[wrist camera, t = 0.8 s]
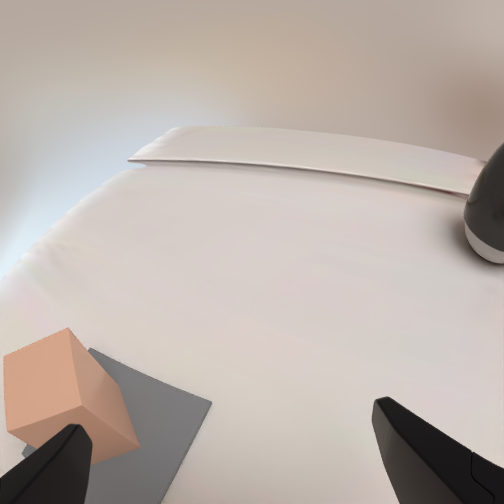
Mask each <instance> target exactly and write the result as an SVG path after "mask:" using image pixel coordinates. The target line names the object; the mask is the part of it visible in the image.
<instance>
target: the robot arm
mask: <svg viewBox="0 0 504 504" xmlns="http://www.w3.org/2000/svg"><path fill="white" fill-rule="evenodd" d="M372 425H373V428H374V432H375V435H376V439H377V443H378V446H379V450H380V453H381V457H382V461H383V464H384V467H385V469H386V472H387V474H388V477H389V479H390V482H391V484H392V486H393V489H394V491H395V494H396V496H397V498H398V501H399V503H400V504H504V468H502V467H500V466H498V465H495V464H494V463H492V462H490V461H488V460H486V459H485V458H483V457H481V456H480V455H478V454H476V453H475V452H472V451H471V450H470V449H468V448H467V447H465V446H463V445H462V444H460V443H459V442H457V441H456V440H454V439H452V438H451V437H449V436H448V435H446V434H445V433H443V432H442V431H440V430H438V429H437V428H435V427H434V426H432V425H431V424H429V423H428V422H426V421H425V420H423V419H422V418H420V417H419V416H417V415H415V414H414V413H412V412H411V411H409V410H408V409H406V408H405V407H403V406H402V405H400V404H399V403H397V402H396V401H395V400H393V399H392V398H390V397H382V398H379V399H376V400H375V401H374V405H373V412H372ZM92 449H93V443H92V440H91V438H90V437H89V435H88V434H87V432H86V431H85V429H84V427H83V426H82V425H80V424H74V423H70V424H68V425H67V426H66V427H64V428H63V429H62V430H61V431H59V432H58V433H57V434H56V435H54V436H53V437H52V438H50V439H49V440H48V441H47V442H45V443H44V444H43V445H42V446H40V447H39V448H38V449H37V450H35V451H34V452H33V453H31V454H30V455H29V456H28V457H26V458H25V459H24V460H22V461H21V462H20V463H19V464H17V465H16V466H15V467H13V468H12V469H11V470H10V471H8V472H7V473H6V474H4V475H3V476H2V477H1V478H0V504H84V503H85V498H86V493H87V489H88V483H89V475H90V466H91V457H92Z"/></svg>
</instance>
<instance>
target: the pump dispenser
mask: <svg viewBox="0 0 504 504" xmlns="http://www.w3.org/2000/svg"><path fill="white" fill-rule="evenodd" d="M464 220H465V233H466V236H467V239H468V241H469V243H470V245H471V246H472V248H473V249H474V250H475V251H476V252H477V253H478V254H479V255H480V256H481V257H483V258H485V259H486V260H489V261H491V262H495V263H504V143H503V144H501V146H499V147H498V149H497V150H496V151H495V152H494V153H493V155H492V156H491V158H490V159H489V160H488V162H487V163H486V165H485V166H484V168H483V169H482V171H481V172H480V174H479V176H478V178H477V180H476V182H475V184H474V186H473V188H472V190H471V193H470V195H469V197H468V200H467V202H466V205H465V209H464Z"/></svg>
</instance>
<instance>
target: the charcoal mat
mask: <svg viewBox="0 0 504 504" xmlns="http://www.w3.org/2000/svg"><path fill="white" fill-rule="evenodd" d="M88 352H89V353H90V354H91V355H92V356H93V358H94V359H95V360H96V361H97V362H98V363H99V364H100V365H101V367H102V368H103V369H104V370H105V371H106V372H107V373H108V374H109V375H110V376H111V377H112V379H113V380H114V381H115V382H116V383H117V384H118V385H119V386H120V389H121V393H122V396H123V399H124V402H125V405H126V408H127V411H128V414H129V417H130V420H131V422H132V425H133V428H134V431H135V433H136V436H137V439H138V441H139V444H140V447H141V448H138V449H135V450H133V451H130V452H127V453H125V454H122V455H119V456H116V457H113V458H110V459H107V460H104V461H101V462H98V463H95V464H92V465H91V466H90V475H89V483H88V489H87V493H86V498H85V503H84V504H160V503H161V501H162V499H163V498H164V496H165V494H166V492H167V490H168V488H169V486H170V484H171V483H172V481H173V479H174V477H175V475H176V473H177V471H178V469H179V467H180V465H181V463H182V461H183V460H184V458H185V456H186V454H187V452H188V450H189V448H190V446H191V444H192V442H193V440H194V438H195V436H196V434H197V432H198V430H199V428H200V426H201V424H202V422H203V420H204V418H205V416H206V414H207V412H208V410H209V408H210V406H211V404H212V402H211V401H209V400H206V399H203V398H201V397H198V396H195V395H193V394H190V393H188V392H185V391H183V390H180V389H178V388H175V387H173V386H170V385H168V384H166V383H163V382H161V381H159V380H156V379H154V378H152V377H150V376H147V375H145V374H143V373H141V372H139V371H136V370H134V369H132V368H130V367H128V366H126V365H124V364H122V363H120V362H118V361H116V360H114V359H111V358H110V357H108V356H106V355H104V354H102V353H100V352H98V351H96V350H94V349H92V348H90V349H89V350H88ZM35 450H37V449H36V448H35V447H33V446H31V445H29V444H27V445H26V447H25V449H24V451H23V452H22V455H23V456H24V457H25V458H26V457H28V456H29V455H30V454H31V453H33V452H34V451H35Z"/></svg>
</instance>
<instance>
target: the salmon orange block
mask: <svg viewBox="0 0 504 504" xmlns="http://www.w3.org/2000/svg"><path fill="white" fill-rule="evenodd" d="M4 400H5V414H6V425H7V432H9V433H10V434H12V435H14V436H15V437H17V438H19V439H20V440H22V441H24V442H26V443H27V444H29V445H31V446H33V447H35V448H36V449H38V448H39V447H40V446H42V445H43V444H44V443H45V442H47V441H48V440H49V439H50V438H52V437H53V436H54V435H56V434H57V433H58V432H59V431H61V430H62V429H63V428H64V427H66V426H67V425H68V424H70V423H74V424H80V425H82V426H83V427H84V429H85V431H86V432H87V434H88V435H89V437H90V438H91V440H92V443H93V449H92V457H91V465H92V464H95V463H98V462H101V461H104V460H107V459H110V458H113V457H116V456H119V455H122V454H125V453H127V452H130V451H133V450H135V449H138V448H141V447H140V444H139V441H138V439H137V436H136V433H135V431H134V428H133V425H132V422H131V420H130V417H129V414H128V411H127V408H126V405H125V402H124V399H123V396H122V393H121V389H120V386H119V385H118V384H117V383H116V382H115V381H114V380H113V379H112V377H111V376H110V375H109V374H108V373H107V372H106V371H105V370H104V369H103V368H102V367H101V365H100V364H99V363H98V362H97V361H96V360H95V359H94V358H93V356H92V355H91V354H90V353H89V352H88V351H87V350H86V348H85V347H84V346H83V345H82V344H81V342H80V341H79V340H78V339H77V338H76V336H75V335H74V334H73V333H72V331H71V330H70V329H69V328H66V329H64V330H61V331H59V332H57V333H55V334H52V335H50V336H48V337H46V338H43V339H41V340H39V341H37V342H35V343H32V344H30V345H28V346H26V347H23V348H21V349H19V350H17V351H15V352H12V353H10V354H8V355H6V356H4Z"/></svg>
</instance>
